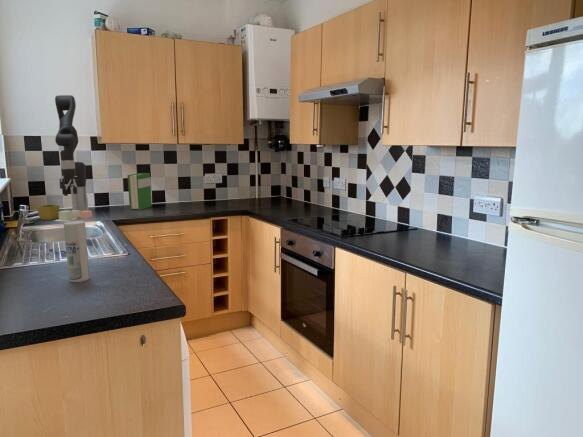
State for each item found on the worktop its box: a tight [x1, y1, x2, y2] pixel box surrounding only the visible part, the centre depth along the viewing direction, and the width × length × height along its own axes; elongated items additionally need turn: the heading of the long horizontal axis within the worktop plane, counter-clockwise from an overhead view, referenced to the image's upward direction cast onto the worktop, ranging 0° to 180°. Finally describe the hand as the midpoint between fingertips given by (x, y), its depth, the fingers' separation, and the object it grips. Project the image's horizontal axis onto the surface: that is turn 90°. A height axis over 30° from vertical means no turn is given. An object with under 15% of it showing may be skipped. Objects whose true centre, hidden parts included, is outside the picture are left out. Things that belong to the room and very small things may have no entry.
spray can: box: [63, 220, 90, 283], centre depth 150 cm, size 6×6×20 cm
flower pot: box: [36, 204, 60, 221], centre depth 263 cm, size 9×9×9 cm
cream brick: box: [70, 209, 81, 218], centre depth 270 cm, size 5×5×5 cm
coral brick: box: [79, 210, 93, 219], centre depth 268 cm, size 5×5×5 cm
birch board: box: [53, 217, 79, 222], centre depth 262 cm, size 10×10×1 cm
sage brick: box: [58, 210, 72, 220], centre depth 261 cm, size 5×5×5 cm
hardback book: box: [127, 172, 152, 211], centre depth 310 cm, size 18×7×24 cm, turn 171°
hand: (70, 194), depth 267 cm, fingers open, 8 cm apart
